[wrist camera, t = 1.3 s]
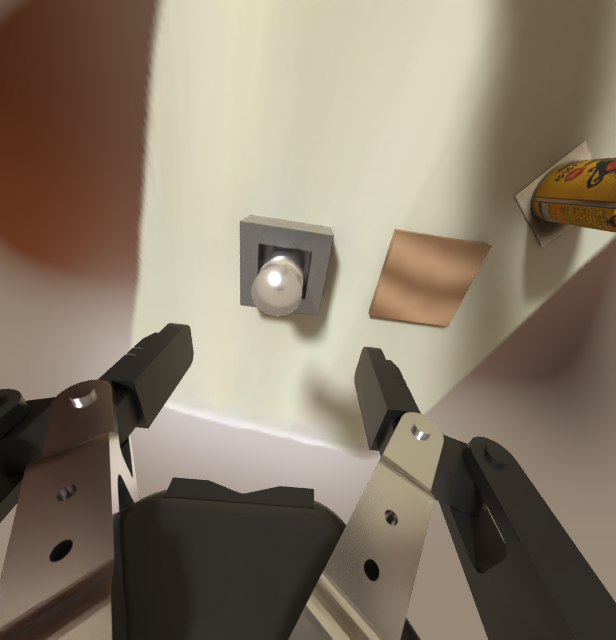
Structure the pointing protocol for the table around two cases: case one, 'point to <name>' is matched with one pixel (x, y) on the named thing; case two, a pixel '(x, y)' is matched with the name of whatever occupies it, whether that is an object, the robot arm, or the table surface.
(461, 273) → the board
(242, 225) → the housing
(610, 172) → the condiment
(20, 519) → the robot arm
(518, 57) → the table surface
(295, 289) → the plug
